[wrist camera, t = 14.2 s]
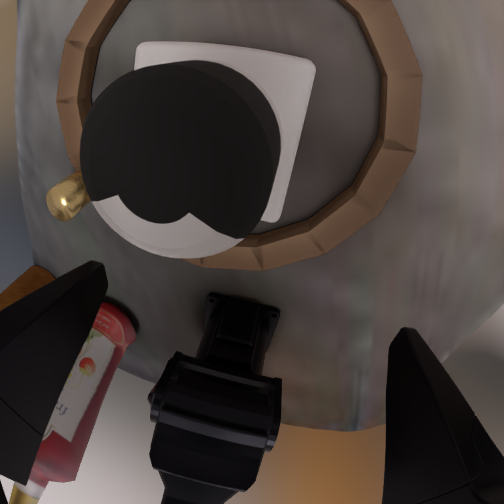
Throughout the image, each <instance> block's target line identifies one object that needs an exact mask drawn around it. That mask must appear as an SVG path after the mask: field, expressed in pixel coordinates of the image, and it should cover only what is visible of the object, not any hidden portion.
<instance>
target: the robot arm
mask: <svg viewBox="0 0 504 504" xmlns="http://www.w3.org/2000/svg"><path fill="white" fill-rule="evenodd" d="M107 289H108V281H107V276H106V272H105V267H104V265H103V263H101V262H97V261H89V262H87V263H85V264H83V265H81V266H79V267H77V268H75V269H73V270H72V271H70V272H68V273H66V274H64V275H62V276H60V277H59V278H57V279H55V280H53V281H51V282H49V283H48V284H46V285H44V286H42V287H40V288H39V289H37V290H35V291H33V292H32V293H30V294H28V295H26V296H25V297H23V298H21V299H19V300H18V301H16V302H14V303H12V304H11V305H9V306H7V307H6V308H4V309H2V310H1V311H0V474H1V475H3V476H5V477H7V478H9V479H11V480H13V481H15V482H17V483H19V484H22V485H24V486H26V485H27V483H28V480H29V476H30V473H31V470H32V467H33V464H34V461H35V459H36V456H37V453H38V450H39V447H40V445H41V442H42V439H43V436H44V433H45V431H46V428H47V426H48V423H49V421H50V418H51V416H52V413H53V411H54V408H55V406H56V404H57V401H58V399H59V397H60V394H61V392H62V390H63V388H64V385H65V383H66V381H67V379H68V377H69V374H70V372H71V370H72V368H73V366H74V364H75V362H76V359H77V357H78V355H79V353H80V351H81V349H82V347H83V345H84V343H85V341H86V339H87V337H88V335H89V333H90V331H91V329H92V326H93V324H94V321H95V319H96V316H97V314H98V311H99V309H100V306H101V304H102V301H103V299H104V296H105V294H106V292H107ZM211 298H212V299H211ZM279 317H280V311H279V310H278V309H276V308H272V307H267V306H263V305H259V304H254V303H250V302H246V301H242V300H238V299H234V298H230V297H226V296H222V295H218V294H214V293H210V294H208V296H207V298H206V307H205V318H204V330H203V336H202V339H201V342H200V345H199V348H198V351H197V354H196V357H195V358H194V357H190V356H187V355H184V354H183V353H181V352H178V351H176V352H175V354H174V356H173V358H171V359H170V360H168V363H167V365H166V368H165V370H164V372H163V374H162V376H161V378H160V380H159V381H158V382H157V384H156V385H155V386H154V388H153V389H152V390H151V392H150V393H149V395H148V401H149V403H150V405H151V413H150V419H151V422H154V423H156V426H155V430H154V434H153V438H152V442H151V450H150V453H149V455H150V459H151V463H152V467H153V468H154V469H156V470H158V471H159V474H160V476H161V479H162V481H163V484H164V486H165V490H164V494H163V499H162V502H161V504H224V503H225V502H226V501H227V500H228V499H230V498H231V497H232V496H233V495H235V494H236V493H237V492H238V491H240V492H245V491H246V490H248V489H249V488H250V487H251V486H252V485H253V483H254V482H255V481H256V477H257V474H258V471H259V467H260V465H261V461H262V458H263V454H264V451H265V452H270V451H271V450H272V448H273V446H274V444H275V441H276V438H277V435H278V431H279V427H280V421H281V397H282V379H281V378H276V377H275V378H271V377H267V376H262V370H263V365H264V359H265V353H266V352H267V350H268V347H269V345H270V342H271V339H272V336H273V334H274V331H275V328H276V326H277V323H278V320H279ZM0 504H8V502H7V499H6V496H5V493H4V490H3V487H2V484H1V481H0ZM382 504H504V456H503V455H502V454H501V452H500V451H499V449H498V448H497V447H496V445H495V444H494V442H493V441H492V439H491V438H490V437H489V435H488V433H487V432H486V430H485V429H484V427H483V426H482V424H481V423H480V421H479V419H478V418H477V416H475V413H474V412H473V410H472V409H471V407H470V406H469V404H468V402H467V401H466V400H465V398H464V396H463V395H462V393H461V392H460V390H459V389H458V387H457V386H456V385H455V383H454V382H453V380H452V379H451V377H450V376H449V374H448V373H447V371H446V370H445V369H444V367H443V366H442V364H441V363H440V362H439V360H438V359H437V357H436V356H435V355H434V353H433V352H432V351H431V349H430V348H429V346H428V345H427V344H426V342H425V341H424V340H423V338H422V337H421V336H420V334H419V333H418V332H417V330H416V329H414V328H408V327H403V328H401V329H400V331H399V332H398V334H397V335H396V337H395V338H394V339H393V341H392V342H391V344H390V346H389V353H388V371H387V385H386V452H385V471H384V486H383V498H382Z"/></svg>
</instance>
